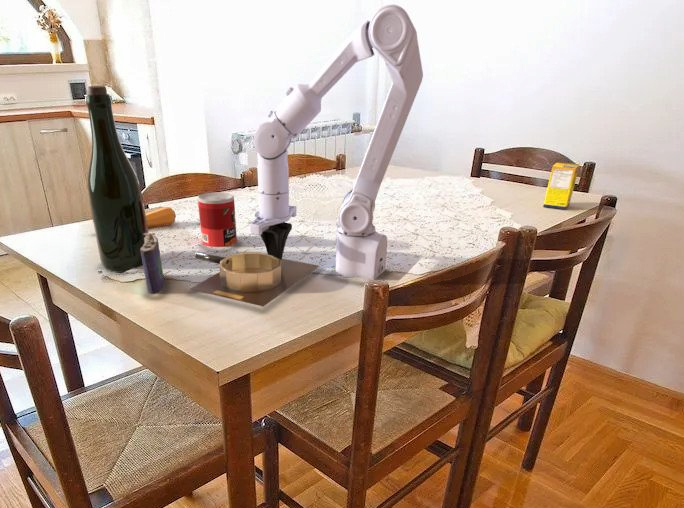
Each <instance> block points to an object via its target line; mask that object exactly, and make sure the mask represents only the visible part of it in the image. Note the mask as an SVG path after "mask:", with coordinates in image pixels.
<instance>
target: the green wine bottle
mask: <svg viewBox="0 0 684 508" xmlns="http://www.w3.org/2000/svg"><path fill="white" fill-rule="evenodd" d="M86 93H87V94H85V104H86V108H87V111H88V117H89V124H90V133H91V154H90V160H89V165H88V172H87V193H88V201H89V207H90V210H91V217H92V223H93V228H94V229H93V230H94V233H95V239H96V245H97V249H98V254H99V260H100V264H101V266H102V268H104V269H105V270H108V271H110V272H114V273H125V272H128V271H130V270H133V269H137V268H140V267H143V262H142V256H141V251H140V249H141V247H143V245H144V238H145V237H146V236H145V235H144V234H145V233H147V234H148V233H150V232H149V228H148V225H147V219H146V214H147V213H146V209H145V202H144V197H143V192H142V189H141V184H140V182H139V178H138V175H137V173H136V171H135V169H134V167H133V165H132V163H131V162H130V160H129V158H128V156H127V154H126V152H125V150H124V147H123V145H122V143H121V141H120V137H119V134H118V129H117V126H116V121H115V116H114V111H113V101H112V98H111V95H110V94H109V93H108V90H107V87H106V86H104V85H90V86H86Z"/></svg>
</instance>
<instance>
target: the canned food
mask: <svg viewBox="0 0 684 508" xmlns="http://www.w3.org/2000/svg"><path fill="white" fill-rule="evenodd" d="M197 207H198V216H199V225H200V226H199V227H200V235H201V236H200V237H201V243H202V244H203V245H204V246H206V247H211V248H223V247H230V246H233V245H235V244H236V243H237V242H238V240H237V238H238V237H237V221H236V205H235V197H234V194H232V193H229V192H222V191H214V192H213V191H211V192H205V193H201V194H199V195H198V196H197Z"/></svg>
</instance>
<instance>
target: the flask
mask: <svg viewBox="0 0 684 508" xmlns="http://www.w3.org/2000/svg"><path fill="white" fill-rule="evenodd" d="M144 235H145V236H146V237H145V238H144V245H143V247H141V249H140V251H141V256H142V262H143V266H142V267H143V274H144V279H145V284H146V290H147V293H148V294H151V295H155V294H158V293H161V292H162V289H163V287H164V285H165V276H164V272H163V265H162V258H161V251H160V245H159V244H160V243H159V239H158V237H157V236H156V233H155V232H149V233H148V234H147V233H145V234H144ZM151 299H152V298H151Z"/></svg>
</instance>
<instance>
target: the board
mask: <svg viewBox="0 0 684 508" xmlns="http://www.w3.org/2000/svg"><path fill="white" fill-rule="evenodd" d="M319 267H320V264H319V265H318V264H314V263H307V262H302V261H298V260H292V259H287V258H282V260H281V282H280V284H279V285H278V286H276V287H274V288H272V289H269V290H266V291H261V292H237V291H233V290H229V289H227V288H225V287H224V286H223V285H222V283H221V281H220V271H218V272H217V273H214V274H213V275H211V276H210V277H208V278H206V279H203V280H202V281H201V282H199V283H197V284H195V285H193V286H192V287H190V288H189V290H192V291H195V292H200V293H205V294H208V295H212V296H217V297H221V298H225V299H229V300H234V301H238V302H242V303H246V304H250V305H255V306H259V307H265V306H266V305H267V304H269V303H270V302H272V301H273V300H274V299H275V298H277V297H279V296H280V295H281V294H283V293H284V292H285V291H287V290H289V289H290V288H291V287H292V286H294V285H295V284H297V283H298V282H299V281H301V280H302V279H303V278H305V277H306V276H308V275H309V274H310V273H312V272H313V271H315V270H316V269H317V268H319Z"/></svg>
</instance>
